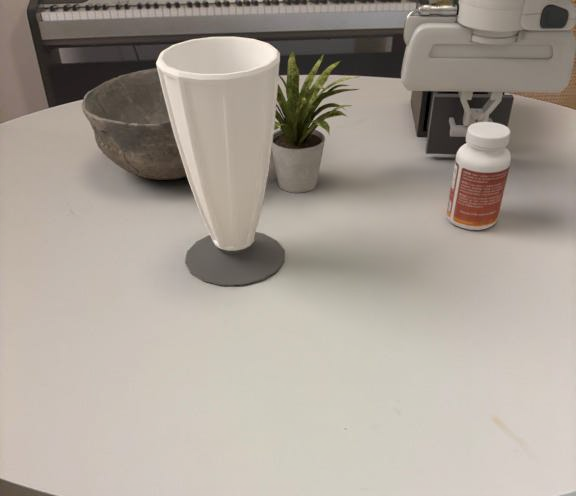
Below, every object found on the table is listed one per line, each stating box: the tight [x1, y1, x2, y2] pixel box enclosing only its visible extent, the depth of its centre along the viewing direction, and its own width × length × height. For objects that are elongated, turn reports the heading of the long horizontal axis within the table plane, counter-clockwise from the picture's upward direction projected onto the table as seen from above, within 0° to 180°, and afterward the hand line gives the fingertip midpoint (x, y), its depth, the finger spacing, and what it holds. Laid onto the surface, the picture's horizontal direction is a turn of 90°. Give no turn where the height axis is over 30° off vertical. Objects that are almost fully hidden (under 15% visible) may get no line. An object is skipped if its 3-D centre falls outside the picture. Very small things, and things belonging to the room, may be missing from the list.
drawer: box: [425, 91, 515, 155], centre depth 90 cm, size 17×10×8 cm, turn 176°
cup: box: [155, 36, 285, 287], centre depth 66 cm, size 12×12×22 cm
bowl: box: [81, 67, 187, 181], centre depth 87 cm, size 21×21×10 cm
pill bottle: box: [446, 122, 512, 231], centre depth 75 cm, size 6×6×11 cm
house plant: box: [271, 50, 359, 194], centre depth 80 cm, size 14×14×16 cm
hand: (474, 124), depth 84 cm, fingers closed, pressing on drawer
